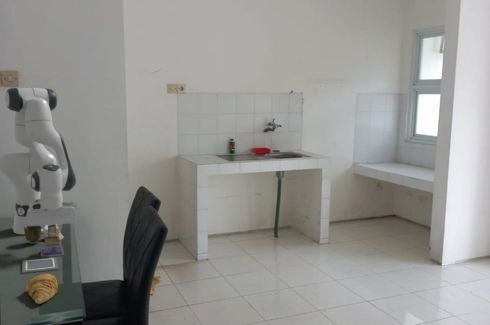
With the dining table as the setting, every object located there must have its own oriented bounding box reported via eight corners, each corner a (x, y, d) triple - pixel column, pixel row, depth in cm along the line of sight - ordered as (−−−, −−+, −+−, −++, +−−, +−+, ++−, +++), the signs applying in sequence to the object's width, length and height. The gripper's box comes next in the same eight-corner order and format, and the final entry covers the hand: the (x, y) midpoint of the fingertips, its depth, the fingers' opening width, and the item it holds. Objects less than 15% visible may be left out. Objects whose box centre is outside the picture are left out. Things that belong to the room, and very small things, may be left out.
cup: (35, 247, 208) (34, 230, 207) (20, 245, 210) (20, 228, 209) (45, 242, 216) (45, 225, 214) (31, 240, 217) (31, 223, 216)
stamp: (45, 242, 203) (44, 224, 202) (58, 241, 205) (58, 223, 204) (45, 246, 198) (45, 228, 197) (59, 245, 200) (59, 227, 199)
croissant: (48, 315, 155) (60, 294, 155) (19, 305, 152) (31, 283, 152) (53, 288, 175) (63, 269, 175) (27, 278, 172) (37, 259, 171)
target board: (22, 261, 191) (22, 260, 191) (56, 258, 196) (56, 256, 196) (22, 273, 179) (22, 271, 179) (58, 269, 185) (58, 268, 185)
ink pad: (40, 250, 205) (40, 247, 204) (62, 248, 208) (62, 245, 208) (41, 257, 197) (41, 253, 196) (63, 255, 200) (63, 251, 200)
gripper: (76, 200, 206) (76, 230, 208) (25, 202, 198) (26, 234, 200) (77, 203, 201) (78, 234, 203) (25, 206, 192) (26, 238, 194)
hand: (51, 234), depth 201 cm, fingers closed on stamp, 3 cm apart
